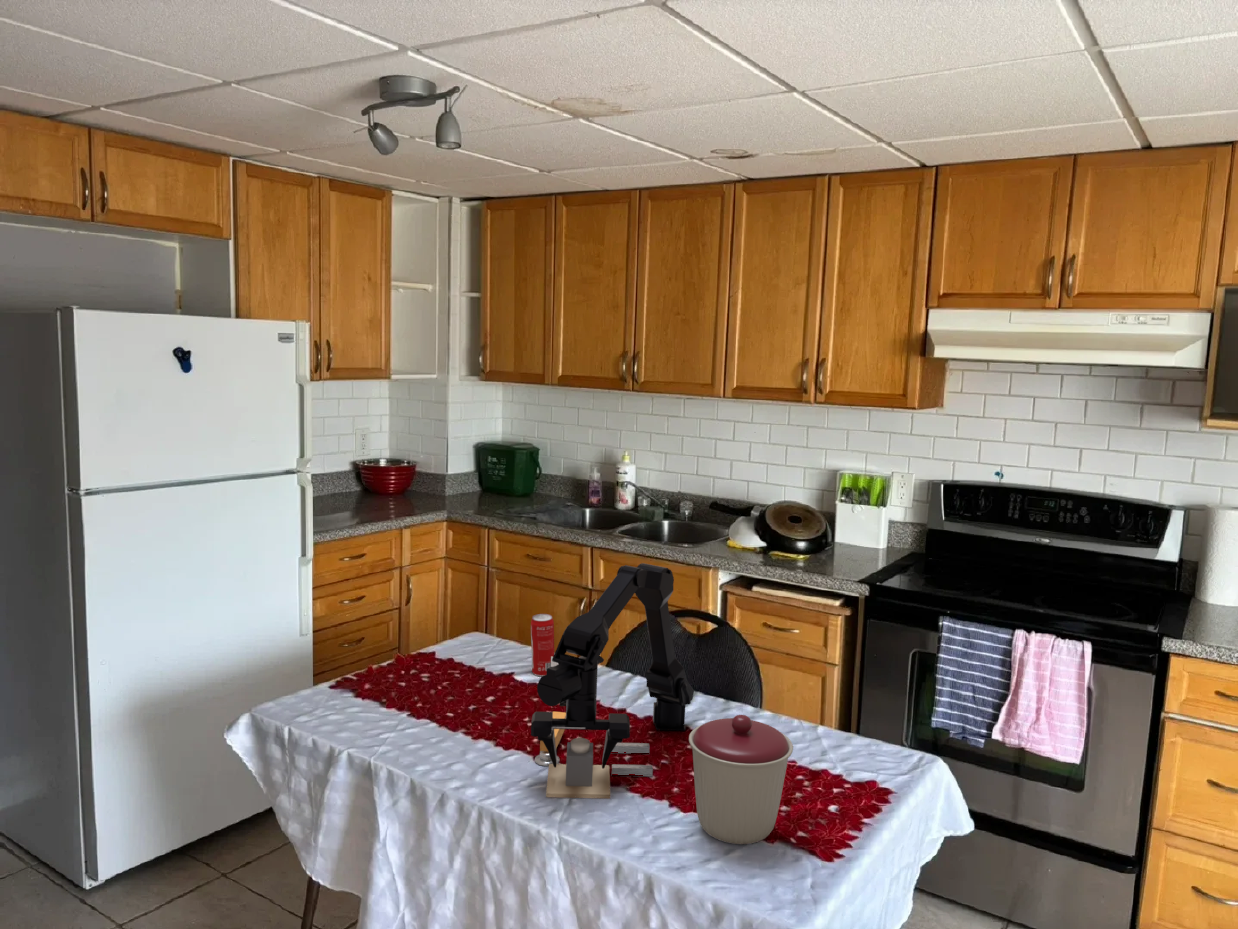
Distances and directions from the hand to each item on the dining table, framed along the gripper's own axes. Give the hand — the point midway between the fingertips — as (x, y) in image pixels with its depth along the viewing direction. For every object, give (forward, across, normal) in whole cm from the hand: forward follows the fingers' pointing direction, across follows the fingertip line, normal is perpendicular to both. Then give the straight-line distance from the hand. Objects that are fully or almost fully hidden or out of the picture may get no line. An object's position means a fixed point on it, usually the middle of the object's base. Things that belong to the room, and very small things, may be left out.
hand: (579, 767), depth 181 cm
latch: (+1, +6, -15) cm, 16 cm away
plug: (+2, 0, 0) cm, 2 cm away
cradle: (+3, -3, -9) cm, 10 cm away
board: (+3, 0, 0) cm, 3 cm away
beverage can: (+3, +10, -58) cm, 59 cm away
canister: (+3, -28, +16) cm, 32 cm away
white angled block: (+4, +4, -44) cm, 44 cm away
